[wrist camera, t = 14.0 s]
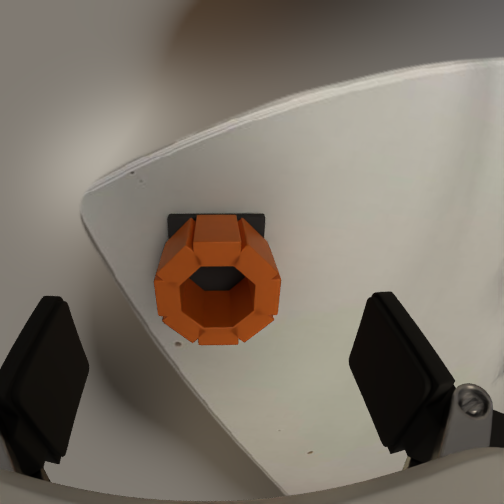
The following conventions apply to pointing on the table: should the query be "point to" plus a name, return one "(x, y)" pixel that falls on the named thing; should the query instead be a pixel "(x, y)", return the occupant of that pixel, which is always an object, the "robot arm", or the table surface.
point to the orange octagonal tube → (217, 302)
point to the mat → (216, 275)
